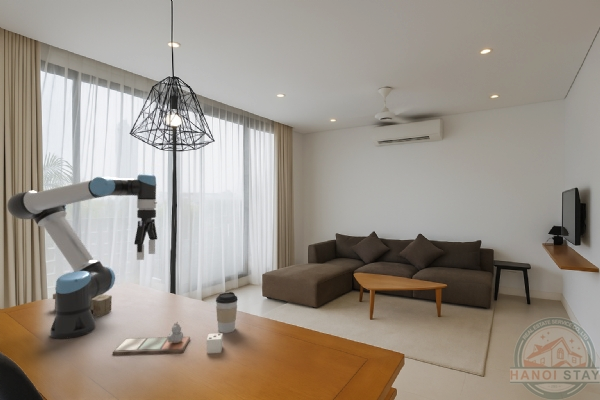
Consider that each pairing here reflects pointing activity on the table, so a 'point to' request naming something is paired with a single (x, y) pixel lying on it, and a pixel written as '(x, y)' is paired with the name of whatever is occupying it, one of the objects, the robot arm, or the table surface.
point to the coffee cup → (226, 312)
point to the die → (214, 343)
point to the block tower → (97, 304)
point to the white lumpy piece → (175, 334)
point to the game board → (150, 346)
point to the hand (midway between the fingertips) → (146, 256)
